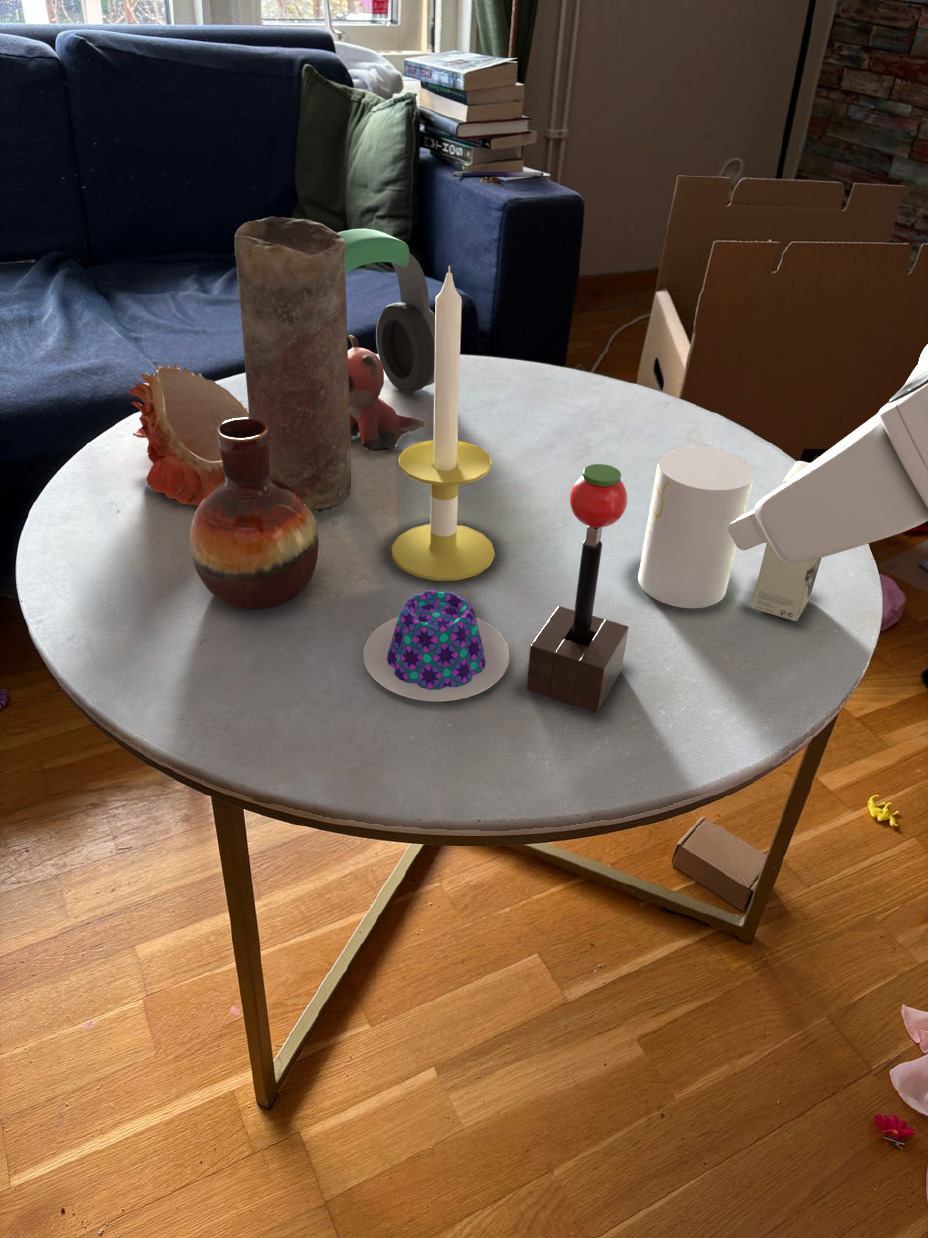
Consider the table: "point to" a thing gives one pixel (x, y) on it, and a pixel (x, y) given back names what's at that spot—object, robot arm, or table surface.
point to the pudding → (436, 650)
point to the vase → (252, 526)
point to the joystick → (593, 535)
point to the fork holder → (576, 661)
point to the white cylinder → (693, 525)
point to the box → (784, 579)
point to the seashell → (184, 431)
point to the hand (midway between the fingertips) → (775, 506)
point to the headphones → (398, 310)
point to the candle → (444, 468)
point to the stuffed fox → (373, 403)
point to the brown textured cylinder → (298, 352)
